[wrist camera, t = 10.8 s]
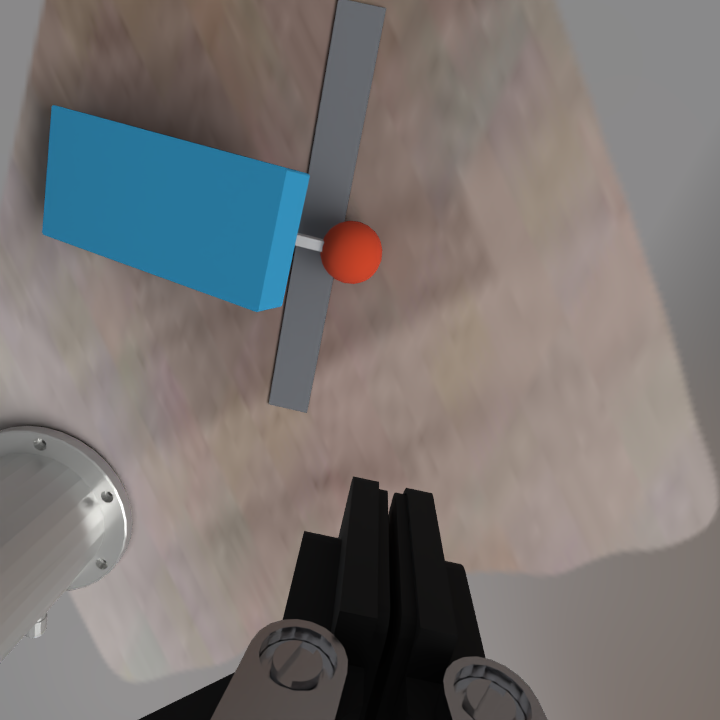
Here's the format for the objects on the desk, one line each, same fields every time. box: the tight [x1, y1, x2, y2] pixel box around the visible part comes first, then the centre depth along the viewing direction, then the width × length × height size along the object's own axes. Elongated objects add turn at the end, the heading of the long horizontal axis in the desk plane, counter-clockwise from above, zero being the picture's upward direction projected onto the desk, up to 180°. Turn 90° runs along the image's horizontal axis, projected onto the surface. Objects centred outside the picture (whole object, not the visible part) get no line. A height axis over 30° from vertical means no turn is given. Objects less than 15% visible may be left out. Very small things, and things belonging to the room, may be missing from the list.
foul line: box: [269, 0, 386, 413], centre depth 32 cm, size 23×2×1 cm, turn 168°
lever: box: [42, 105, 382, 312], centre depth 30 cm, size 7×7×18 cm
